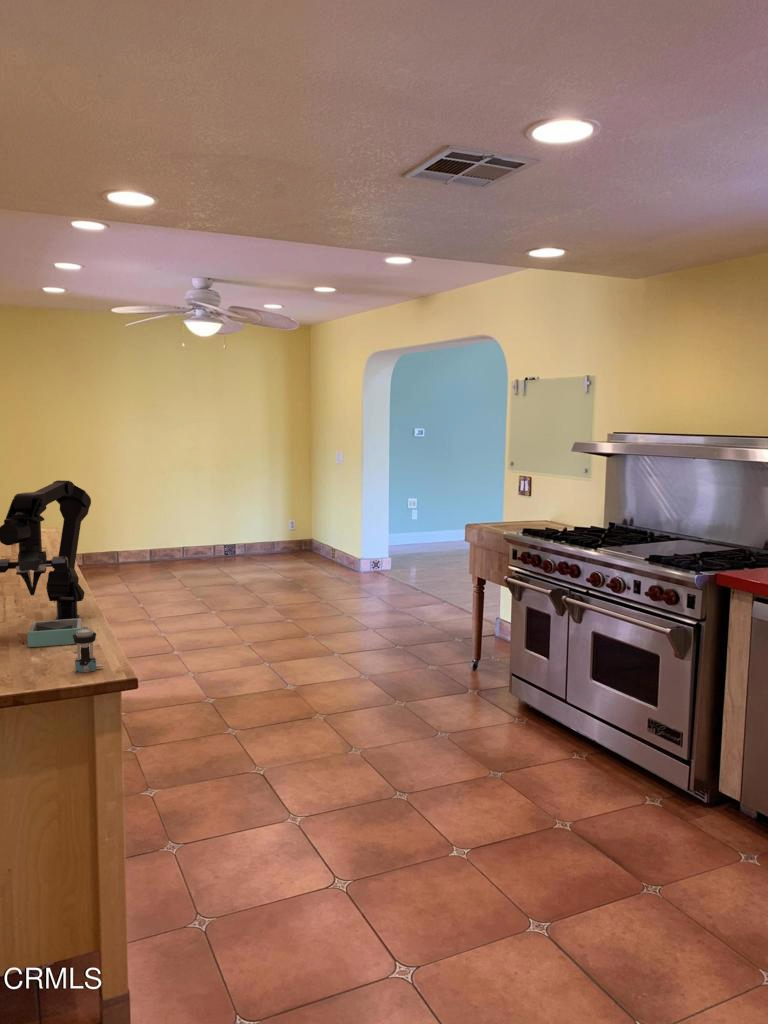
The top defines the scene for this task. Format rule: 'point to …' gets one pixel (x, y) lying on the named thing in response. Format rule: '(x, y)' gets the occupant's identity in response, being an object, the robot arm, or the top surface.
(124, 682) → the top surface
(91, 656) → the push button
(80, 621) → the frame
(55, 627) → the block
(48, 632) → the bar
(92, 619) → the top surface
